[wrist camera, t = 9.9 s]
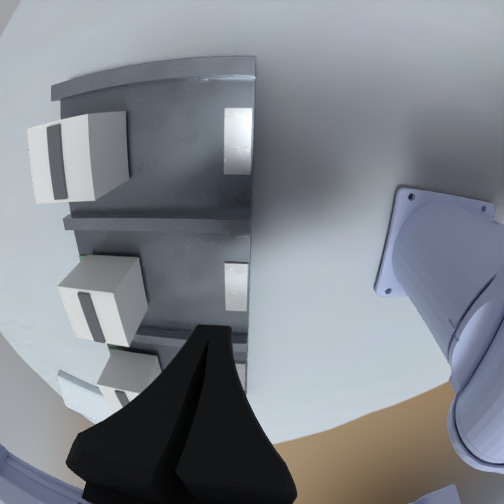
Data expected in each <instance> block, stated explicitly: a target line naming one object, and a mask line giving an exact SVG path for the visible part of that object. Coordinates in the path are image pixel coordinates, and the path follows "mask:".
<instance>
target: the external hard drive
mask: <svg viewBox="0 0 504 504" xmlns="http://www.w3.org/2000/svg"><path fill="white" fill-rule="evenodd" d="M57 379H58V383H59V386H60V390H61V393H62V396H63V399H64V402H65V405H66V406H67V407H69V408H71V409H73V410H75V411H77V412H79V413H81V414H84V415H86V416H88V417H90V418H93V419H95V420H97V421H100V422H101V421H103V420H105V419H106V418H108V417H109V416H111V415H112V414H114V413H115V412H112V410H111V408H110V407H109V405H108V403H107V401H106V400H105V398H104V396H103V394H102V393H101V391H100V389H99V388H97V387H95V386H93V385H91V384H88V383H86V382H84V381H82V380H80V379H77V378H75V377H73V376H71V375H69V374H67V373H65V372H63V371H61V370H60V371H59V373H58V374H57Z"/></svg>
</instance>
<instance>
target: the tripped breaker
mask: <svg viewBox="0 0 504 504" xmlns="http://www.w3.org/2000/svg"><path fill="white" fill-rule="evenodd" d="M160 373H161V368H160V365H159V361H158V358H157V356H154V355H147V354H140V353H133V352H127V351H121V350H115V349H114V350H113V352H112V354H111V356H110V358H109V360H108V362H107V364H106V366H105V368H104V370H103V372H102V374H101V376H100V378H99V381H98V383H97V385H98V387H99V389H100V391H101V393H102V394H103V396H104V398H105V400H106V401H107V403H108V405H109V407H110V408H111V410H112V412H117V411H118V410H120V409H121V408H123V407H124V406H125V405H127V404H128V403H129V402H130V401H132V400H133V399H134V398H135V397H136V396H138V395H139V394H140V393H141V392H142V391H143V390H144V389H146V388H147V387H148V386H149V385H150V384H151V383H152V382H153V381H154V380H155V379H156V378H157V377H158V376H159V374H160Z"/></svg>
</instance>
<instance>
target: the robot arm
mask: <svg viewBox="0 0 504 504" xmlns="http://www.w3.org/2000/svg"><path fill="white" fill-rule="evenodd" d="M411 193H412V198H411V199H408V196H409V194H411ZM482 207H483V209H482ZM494 214H495V205H494V204H492V203H490V202H485V201H480V200H475V199H470V198H465V197H460V196H455V195H449V194H444V193H438V192H432V191H426V190H419V189H412V188H406V187H402V188H400V189H399V190H398V191H397V193H396V198H395V204H394V209H393V214H392V220H391V224H390V229H389V234H388V238H387V243H386V247H385V252H384V256H383V260H382V264H381V268H380V272H379V275H378V279H377V283H376V286H375V293H376V294H377V295H378V296H380V297H387V296H408V297H409V298H410V300H411V301H412V303H413V304H414V306H415V308H416V309H417V311H418V312H419V314H420V315H421V317H422V319H423V320H424V322H425V323H426V325H427V327H428V328H429V330H430V332H431V333H432V335H433V337H434V338H435V340H436V342H437V344H438V345H439V347H440V349H441V350H442V352H443V354H444V356H445V358H446V359H447V361H448V363H449V364H450V366H451V369H452V373H451V376H450V378H449V381H450V383H451V385H452V387H453V389H454V391H455V393H456V396H455V398H454V400H453V401H452V404H451V406H450V410H449V414H448V432H449V436H450V440H451V442H452V445H453V447H454V449H455V450H456V452H457V454H458V455H459V456H460V457H461V458H462V459H463V460H464V461H465V462H466V463H467V464H468V465H470V466H472V467H474V468H476V469H479V470H482V471H489V472H498V473H502V474H504V225H503V224H502V223H500V222H499V221H497V220H495V219H494ZM388 288H390V289H389V290H388V291H386V289H388ZM66 464H67V466H68V468H69V469H71V471H73V472H74V473H75V474H76V475H78V476H79V477H80V478H82V479H83V480H84V481H86V485H85V488H84V490H82V489H79V488H77V487H75V486H72V485H70V484H68V483H66V482H63V481H61V480H59V479H57V478H55V477H53V476H51V475H49V474H47V473H45V472H43V471H41V470H39V469H37V468H35V467H33V466H32V465H30V464H28V463H26V462H25V461H23V460H21V459H20V458H18V457H16V456H15V455H13V454H11V453H10V452H8V450H7V449H6V448H5V447H4V446H2V445H1V444H0V500H1V501H2V502H3V503H4V504H293V502H294V500H295V499H296V498H297V490H296V487H295V483H294V481H293V478H292V476H291V474H290V472H289V470H288V467H287V465H286V463H285V462H284V461H283V459H282V458H281V456H280V455H279V454H278V452H277V451H276V450H275V448H274V447H273V445H272V444H271V442H270V441H269V439H268V437H267V436H266V434H265V433H264V431H263V429H262V427H261V426H260V424H259V422H258V420H257V418H256V417H255V415H254V413H253V410H252V408H251V406H250V404H249V402H248V400H247V397H246V395H245V392H244V390H243V387H242V384H241V381H240V378H239V375H238V372H237V369H236V365H235V361H234V356H233V341H232V328H231V327H230V326H223V325H204V324H198V325H197V326H196V327H195V329H194V330H193V332H192V333H191V335H190V336H189V338H188V339H187V341H186V342H185V344H184V345H183V346H182V348H181V349H180V350H179V352H178V353H177V354H176V356H175V357H174V358H173V359H172V361H171V362H170V363H169V364H168V365H167V366H166V368H165V369H164V370H163V371H162V372H161V373H160V374H159V376H158V377H157V378H156V379H155V380H154V381H153V382H152V383H151V384H150V385H149V386H148V387H147V388H146V389H144V390H143V391H142V392H141V393H140V394H139V395H138V396H136V397H135V398H134V399H133V400H132V401H130V402H129V403H128V404H127V405H125V406H124V407H123V408H121V409H120V410H118V411H117V412H115V413H114V414H112V415H111V416H109V417H108V418H106V419H105V420H103V421H101V422H100V423H98V424H96V425H94V426H92V427H90V428H88V429H87V430H85V431H83V432H80V433H78V435H77V437H76V439H75V440H74V442H73V444H72V447H71V449H70V452H69V455H68V457H67V460H66ZM409 504H460V501H459V497H458V493H457V489H456V486H455V485H454V484H452V485H450V486H448V487H445V488H443V489H440V490H437V491H435V492H432V493H430V494H427V495H425V496H423V497H421V498H419V499H418V500H417V501H416V502H413V503H409Z"/></svg>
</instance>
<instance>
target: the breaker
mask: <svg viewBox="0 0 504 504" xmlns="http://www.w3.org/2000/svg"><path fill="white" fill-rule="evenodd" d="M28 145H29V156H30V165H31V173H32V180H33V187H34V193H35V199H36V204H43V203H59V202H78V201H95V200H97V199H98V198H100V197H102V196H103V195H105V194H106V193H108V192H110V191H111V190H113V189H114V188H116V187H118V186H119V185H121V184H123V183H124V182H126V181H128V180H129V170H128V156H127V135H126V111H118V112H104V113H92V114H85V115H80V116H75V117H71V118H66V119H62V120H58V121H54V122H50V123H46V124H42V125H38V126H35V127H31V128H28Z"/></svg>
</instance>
